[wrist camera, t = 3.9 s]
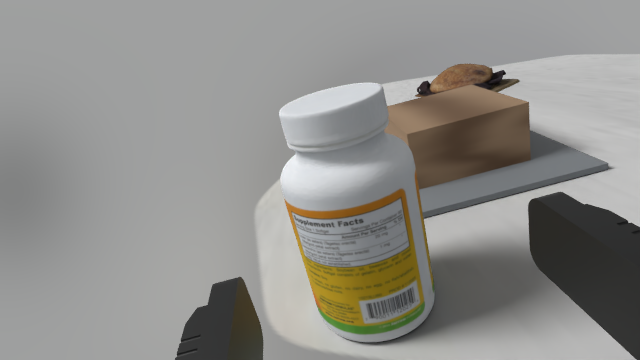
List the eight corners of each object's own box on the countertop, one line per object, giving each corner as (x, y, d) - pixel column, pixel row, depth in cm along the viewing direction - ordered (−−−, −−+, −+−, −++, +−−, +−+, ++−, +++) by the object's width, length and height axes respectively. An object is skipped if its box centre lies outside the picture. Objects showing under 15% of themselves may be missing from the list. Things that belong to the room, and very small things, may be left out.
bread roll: (524, 85, 47) (524, 53, 45) (476, 107, 43) (474, 73, 42) (453, 83, 56) (451, 56, 54) (408, 101, 52) (404, 72, 51)
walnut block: (475, 130, 34) (471, 84, 33) (530, 160, 27) (528, 102, 25) (385, 154, 34) (377, 109, 33) (415, 190, 27) (406, 134, 25)
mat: (503, 123, 35) (502, 119, 35) (607, 169, 24) (608, 163, 24) (350, 163, 35) (349, 159, 35) (384, 228, 24) (383, 222, 24)
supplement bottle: (356, 258, 22) (314, 84, 18) (453, 277, 19) (425, 70, 15) (297, 326, 18) (229, 124, 15) (406, 364, 15) (354, 117, 11)
